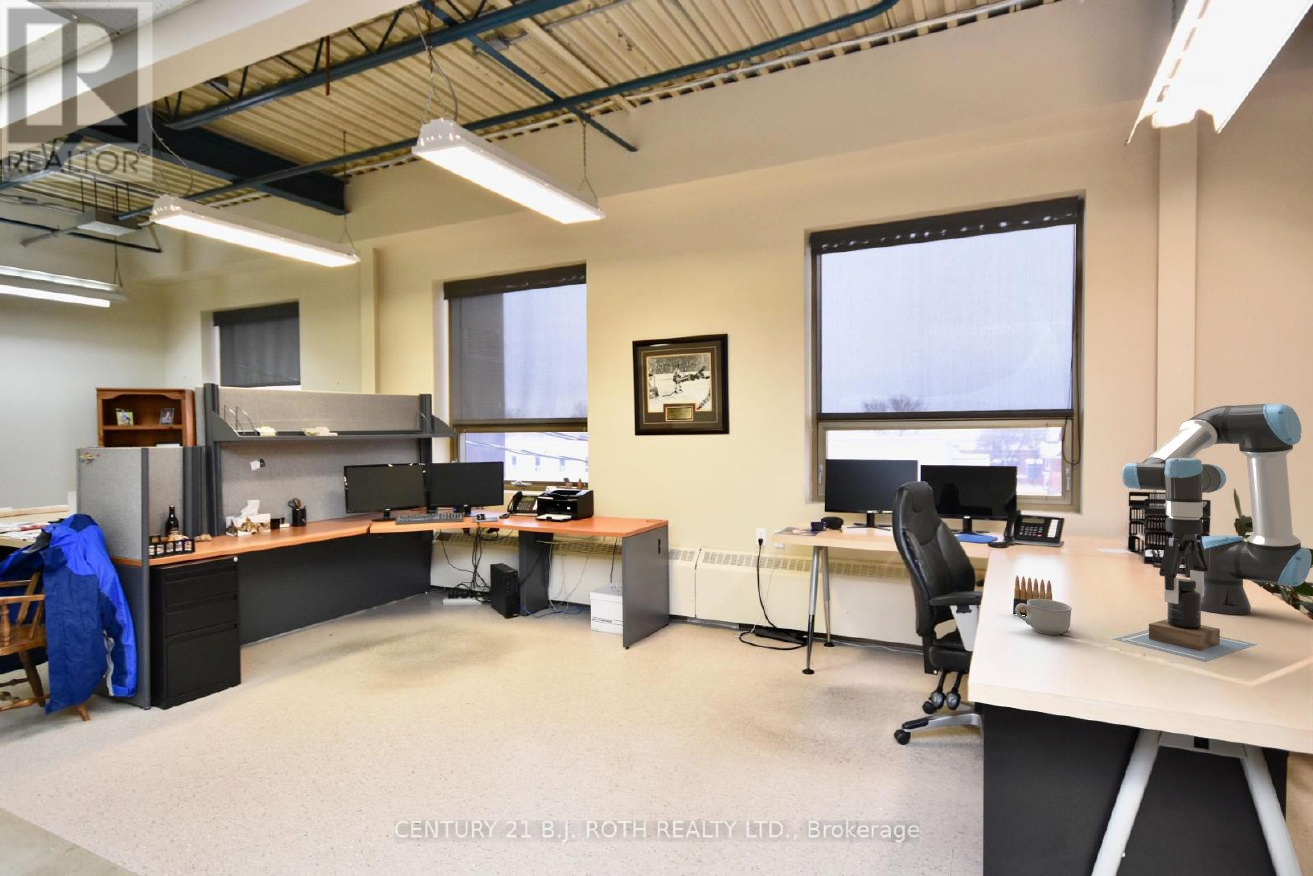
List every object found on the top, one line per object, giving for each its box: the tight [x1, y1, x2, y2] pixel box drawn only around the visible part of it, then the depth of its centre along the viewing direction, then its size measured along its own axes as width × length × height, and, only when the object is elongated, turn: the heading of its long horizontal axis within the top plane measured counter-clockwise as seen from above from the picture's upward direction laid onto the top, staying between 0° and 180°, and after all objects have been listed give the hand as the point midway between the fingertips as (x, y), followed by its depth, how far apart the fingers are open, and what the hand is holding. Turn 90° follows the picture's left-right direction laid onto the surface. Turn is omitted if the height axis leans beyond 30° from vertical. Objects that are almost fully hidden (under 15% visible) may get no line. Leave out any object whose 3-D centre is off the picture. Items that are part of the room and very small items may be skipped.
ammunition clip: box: [1012, 575, 1053, 616], centre depth 197 cm, size 11×2×12 cm, turn 41°
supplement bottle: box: [1166, 577, 1202, 629], centre depth 171 cm, size 7×7×12 cm
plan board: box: [1112, 629, 1257, 663], centre depth 170 cm, size 28×20×1 cm
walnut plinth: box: [1148, 618, 1221, 651], centre depth 170 cm, size 11×11×4 cm
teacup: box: [1015, 599, 1073, 636], centre depth 183 cm, size 14×11×8 cm
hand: (1184, 599), depth 171 cm, fingers open, 13 cm apart
